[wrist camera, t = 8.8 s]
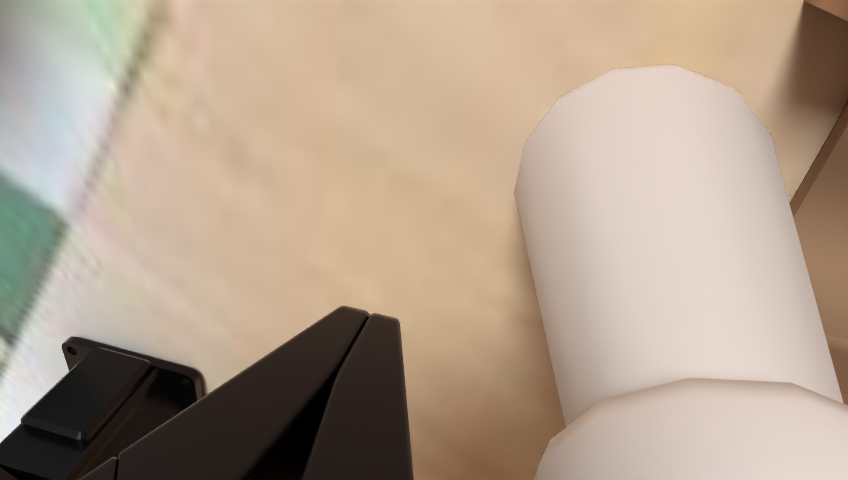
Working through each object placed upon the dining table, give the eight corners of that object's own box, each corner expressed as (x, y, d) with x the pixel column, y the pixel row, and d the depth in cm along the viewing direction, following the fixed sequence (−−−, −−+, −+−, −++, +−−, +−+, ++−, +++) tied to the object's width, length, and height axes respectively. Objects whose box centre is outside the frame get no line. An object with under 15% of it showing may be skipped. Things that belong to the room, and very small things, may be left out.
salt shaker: (698, 256, 17) (938, 925, 6) (507, 220, 17) (409, 755, 7) (784, 57, 13) (1660, 727, 3) (546, 25, 14) (477, 445, 3)
